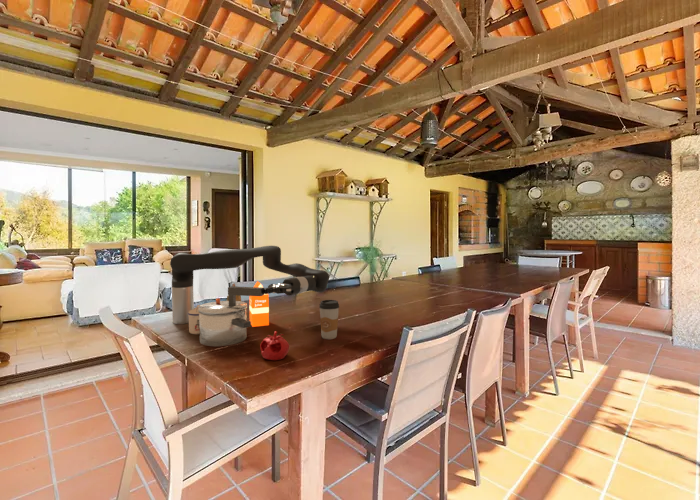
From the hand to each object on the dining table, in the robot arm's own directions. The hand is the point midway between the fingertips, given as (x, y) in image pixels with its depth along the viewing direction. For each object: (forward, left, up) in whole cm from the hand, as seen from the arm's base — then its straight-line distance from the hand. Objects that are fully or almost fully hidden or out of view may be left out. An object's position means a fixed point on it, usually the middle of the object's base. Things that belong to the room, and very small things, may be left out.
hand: (263, 291), depth 139 cm
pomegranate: (+18, -9, -20) cm, 29 cm away
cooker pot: (-10, -10, -20) cm, 24 cm away
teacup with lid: (-31, -10, -20) cm, 38 cm away
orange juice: (-22, +13, -20) cm, 32 cm away
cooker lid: (-11, -8, -8) cm, 15 cm away
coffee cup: (+17, +20, -20) cm, 33 cm away
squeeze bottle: (-37, +9, -20) cm, 43 cm away
